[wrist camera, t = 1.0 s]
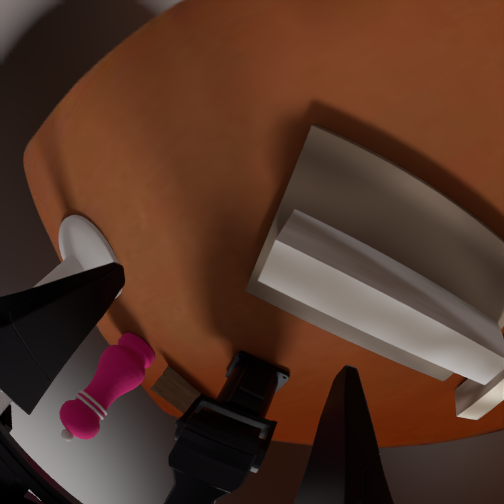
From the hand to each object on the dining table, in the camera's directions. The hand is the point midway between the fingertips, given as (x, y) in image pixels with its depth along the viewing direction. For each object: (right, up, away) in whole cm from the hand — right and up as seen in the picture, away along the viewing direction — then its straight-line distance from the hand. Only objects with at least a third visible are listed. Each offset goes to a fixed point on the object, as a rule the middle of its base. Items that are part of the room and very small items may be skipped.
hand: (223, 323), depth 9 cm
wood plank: (-7, -20, +31) cm, 38 cm away
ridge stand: (+13, +1, +9) cm, 16 cm away
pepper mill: (-16, -12, +30) cm, 36 cm away
